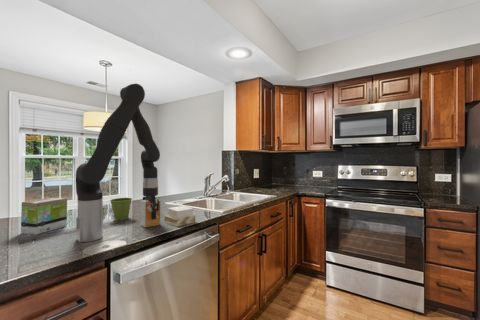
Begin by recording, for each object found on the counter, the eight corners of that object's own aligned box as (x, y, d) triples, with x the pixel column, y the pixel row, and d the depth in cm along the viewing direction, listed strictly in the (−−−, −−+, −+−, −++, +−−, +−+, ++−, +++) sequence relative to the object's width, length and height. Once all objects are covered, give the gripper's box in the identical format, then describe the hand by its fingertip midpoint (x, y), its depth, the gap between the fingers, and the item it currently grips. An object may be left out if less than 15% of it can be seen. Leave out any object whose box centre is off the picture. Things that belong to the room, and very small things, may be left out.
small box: (145, 227, 120) (145, 202, 120) (140, 225, 125) (140, 200, 125) (160, 224, 126) (160, 200, 126) (155, 222, 130) (155, 198, 130)
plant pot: (112, 216, 142) (112, 198, 142) (133, 215, 146) (133, 197, 146) (107, 222, 131) (107, 201, 131) (130, 220, 134) (130, 200, 134)
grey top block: (177, 218, 124) (177, 211, 124) (167, 215, 131) (167, 208, 131) (193, 215, 131) (193, 208, 131) (183, 212, 138) (183, 205, 138)
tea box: (37, 235, 108) (37, 202, 108) (20, 233, 110) (20, 202, 110) (67, 226, 123) (67, 197, 123) (51, 224, 125) (51, 196, 125)
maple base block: (175, 227, 122) (176, 219, 122) (164, 223, 131) (164, 215, 131) (195, 223, 131) (195, 215, 131) (183, 219, 139) (183, 212, 139)
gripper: (137, 185, 127) (137, 216, 127) (149, 188, 117) (149, 221, 117) (151, 184, 133) (151, 214, 133) (163, 187, 123) (163, 218, 123)
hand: (150, 217), depth 125 cm, fingers open, 7 cm apart
